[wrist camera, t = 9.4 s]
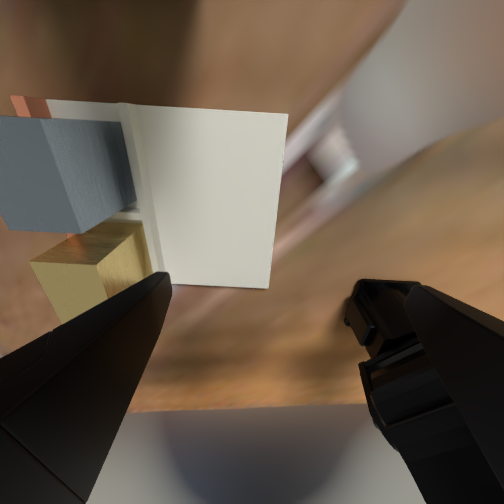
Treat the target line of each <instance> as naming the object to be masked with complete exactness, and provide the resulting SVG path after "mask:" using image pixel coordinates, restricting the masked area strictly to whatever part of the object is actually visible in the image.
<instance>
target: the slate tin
mask: <svg viewBox="0 0 504 504" xmlns="http://www.w3.org/2000/svg"><path fill="white" fill-rule="evenodd" d="M135 201H137V197H136V193H135V188H134V183H133V178H132V174H131V169H130V164H129V160H128V155H127V150H126V145H125V141H124V136H123V131H122V126H121V122H115V121H99V120H82V119H66V118H46V117H25V116H4V115H0V214H1V216H2V218H3V219H4V221H5V223H6V225H7V227H8V229H9V230H19V231H37V232H56V233H74V234H83V233H84V232H86V231H87V230H89V229H91V228H92V227H94V226H96V225H97V224H99V223H101V222H102V221H104V220H105V219H107V218H109V217H110V216H112V215H114V214H115V213H117V212H119V211H120V210H122V209H123V208H125V207H127V206H128V205H130V204H132V203H133V202H135Z"/></svg>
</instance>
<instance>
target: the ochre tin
mask: <svg viewBox="0 0 504 504" xmlns="http://www.w3.org/2000/svg"><path fill="white" fill-rule="evenodd" d="M29 263H30V264H31V266H32V268H33V270H34V272H35V274H36V276H37V277H38V279H39V281H40V283H41V285H42V287H43V289H44V291H45V292H46V294H47V296H48V298H49V300H50V302H51V304H52V306H53V307H54V309H55V311H56V313H57V315H58V317H59V319H60V320H61V322H62V324H64V323H66V322H67V321H69V320H71V319H73V318H75V317H76V316H78V315H80V314H82V313H83V312H85V311H87V310H89V309H91V308H92V307H94V306H96V305H98V304H100V303H101V302H103V301H105V300H107V299H108V298H110V297H112V296H114V295H116V294H117V293H119V292H121V291H123V290H124V289H126V288H128V287H130V286H132V285H133V284H135V283H137V282H139V281H141V280H142V279H144V278H146V277H148V276H149V275H151V274H153V270H152V265H151V261H150V256H149V251H148V246H147V242H146V237H145V232H144V227H143V224H137V223H119V222H101V223H99V224H97V225H96V226H94V227H92V228H91V229H89V230H87V231H86V232H84V233H83V234H75V235H73V236H71V237H70V238H68V239H66V240H65V241H63V242H61V243H60V244H58V245H56V246H54V247H53V248H51V249H49V250H48V251H46V252H44V253H43V254H41V255H39V256H38V257H36V258H34V259H32V260H31V261H29Z"/></svg>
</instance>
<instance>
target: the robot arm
mask: <svg viewBox="0 0 504 504" xmlns="http://www.w3.org/2000/svg"><path fill="white" fill-rule="evenodd" d="M364 283H365V284H364ZM362 284H363V285H362ZM171 297H172V285H171V279H170V274H169V273H168V272H162V271H157V272H155V273H153V274H151V275H149V276H148V277H146V278H144V279H142V280H141V281H139V282H137V283H135V284H133V285H132V286H130V287H128V288H126V289H124V290H123V291H121V292H119V293H117V294H116V295H114V296H112V297H110V298H108V299H107V300H105V301H103V302H101V303H100V304H98V305H96V306H94V307H92V308H91V309H89V310H87V311H85V312H83V313H82V314H80V315H78V316H76V317H75V318H73V319H71V320H69V321H67V322H66V323H64V324H62V325H60V326H58V327H57V328H55V329H53V331H52V332H51V331H50V332H48V333H46V334H44V335H42V336H41V337H39V338H37V339H35V340H33V341H32V342H30V343H28V344H26V345H24V346H22V347H21V348H19V349H17V350H15V351H13V352H11V353H10V354H8V355H6V356H4V357H2V358H0V504H86V502H87V501H88V498H89V496H90V494H91V492H92V489H93V487H94V485H95V482H96V480H97V478H98V475H99V473H100V471H101V469H102V466H103V464H104V462H105V459H106V457H107V455H108V452H109V450H110V448H111V446H112V443H113V441H114V439H115V436H116V434H117V432H118V430H119V427H120V425H121V422H122V420H123V418H124V416H125V413H126V411H127V409H128V407H129V404H130V402H131V400H132V397H133V395H134V393H135V390H136V388H137V386H138V384H139V381H140V379H141V377H142V374H143V372H144V370H145V367H146V365H147V363H148V361H149V358H150V356H151V354H152V351H153V349H154V347H155V345H156V342H157V340H158V337H159V335H160V332H161V329H162V326H163V323H164V320H165V316H166V313H167V310H168V307H169V303H170V300H171ZM345 315H346V316H345V319H344V323H345V325H346V326H351V327H352V329H353V332H354V334H355V336H356V338H357V340H358V342H359V344H360V345H361V346H365V348H366V350H367V352H368V354H369V356H370V358H371V359H369V360H367V361H365V362H364V361H363V362H361V363H359V364H358V366H359V370H360V376H361V380H362V384H363V388H364V392H365V396H366V400H367V404H368V408H369V412H370V415H371V416H372V420H373V423H374V425H375V426H376V428H377V429H379V430H380V431H381V432H382V434H383V435H384V437H385V438H386V440H387V441H388V442H389V444H390V445H391V446H392V447H393V448H394V449H395V450H397V451H398V452H399V453H400V455H401V456H402V458H403V460H404V461H405V463H406V465H407V467H408V469H409V470H410V472H411V474H412V476H413V478H414V480H415V482H416V484H417V486H418V488H419V490H420V492H421V494H422V496H423V498H424V500H425V502H426V504H504V321H502V320H500V319H498V318H495V317H493V316H491V315H489V314H487V313H485V312H483V311H481V310H478V309H476V308H474V307H472V306H470V305H468V304H466V303H464V302H461V301H459V300H457V299H455V298H453V297H451V296H449V295H447V294H444V293H442V292H440V291H438V290H436V289H434V288H432V287H430V286H426V285H422V284H421V283H419V282H413V281H394V280H375V279H361V280H360V281H359V282H358V283H357V286H356V289H355V292H354V294H353V297H352V298H351V300H350V303H349V305H348V308H347V311H346V314H345Z"/></svg>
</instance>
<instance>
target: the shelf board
mask: <svg viewBox="0 0 504 504" xmlns="http://www.w3.org/2000/svg"><path fill="white" fill-rule="evenodd" d="M10 97H11V100H12V102H13V105H14V107H15V110H16V112H17V114H18V116H25V117H46V118H66V119H82V120H99V121H115V122H121V126H122V131H123V136H124V141H125V145H126V150H127V155H128V160H129V164H130V169H131V174H132V178H133V183H134V188H135V193H136V197H137V201H135V202H133V203H132V204H130V205H128V206H127V207H125V208H123V209H122V210H120V211H119V212H117V213H115V214H114V215H112V216H110V217H109V218H107V219H105V220H104V221H102V222H119V223H137V224H143V227H144V232H145V237H146V242H147V246H148V251H149V256H150V261H151V265H152V270H153V273H155V272H157V271H162V272H168V273H169V274H170V279H171V284H190V285H209V286H228V287H248V288H267V289H268V287H269V279H270V270H271V261H272V253H273V244H274V235H275V226H276V218H277V209H278V200H279V192H280V183H281V174H282V165H283V157H284V148H285V139H286V130H287V122H288V114H279V113H263V112H246V111H230V110H214V109H198V108H181V107H165V106H149V105H135V104H130V103H119V102H117V104H116V103H100V102H84V101H68V100H51V99H41V98H33V97H26V96H13V95H10ZM66 235H67V237H68V238H70V237H71V236H73V235H75V234H74V233H66Z"/></svg>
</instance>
